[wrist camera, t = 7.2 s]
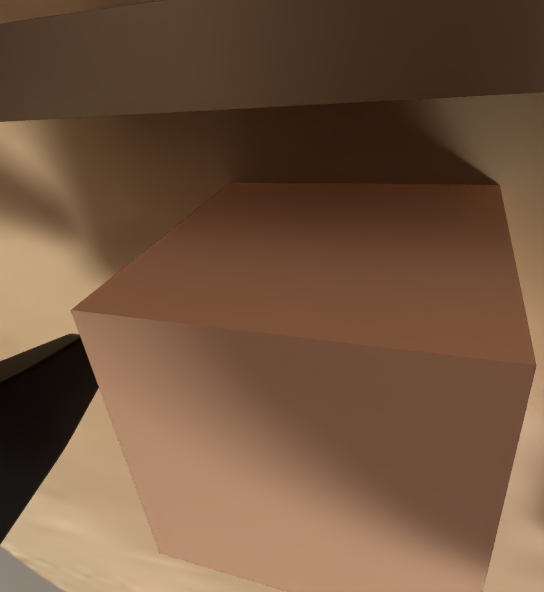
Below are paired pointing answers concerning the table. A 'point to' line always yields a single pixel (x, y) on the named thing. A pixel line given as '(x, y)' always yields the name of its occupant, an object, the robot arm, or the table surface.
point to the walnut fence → (266, 55)
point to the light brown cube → (321, 383)
